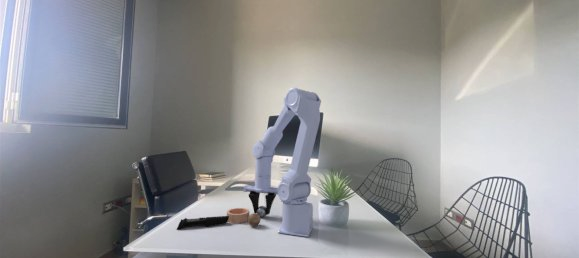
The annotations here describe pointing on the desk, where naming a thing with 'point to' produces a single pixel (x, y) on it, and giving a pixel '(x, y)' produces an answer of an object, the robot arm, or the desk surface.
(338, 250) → the desk surface
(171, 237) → the desk surface
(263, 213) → the steel ball
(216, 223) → the electric trimmer
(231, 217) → the terracotta bowl
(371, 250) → the desk surface
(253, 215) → the wooden ball
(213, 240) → the desk surface
